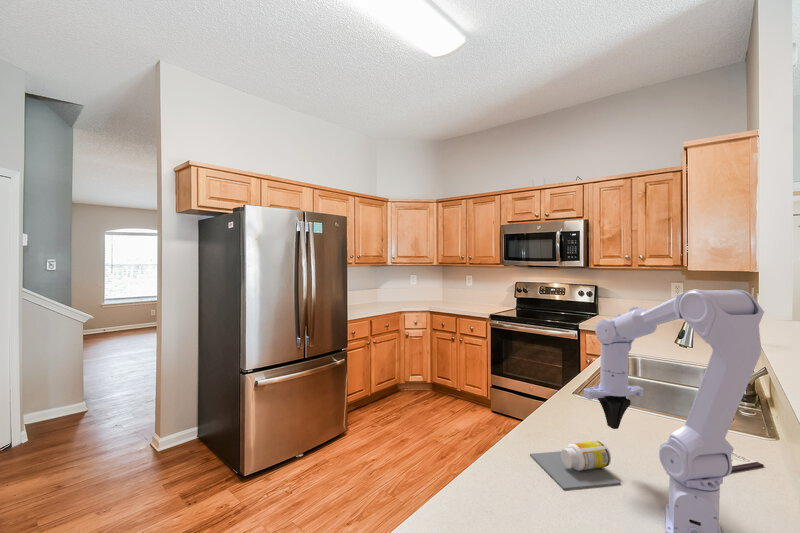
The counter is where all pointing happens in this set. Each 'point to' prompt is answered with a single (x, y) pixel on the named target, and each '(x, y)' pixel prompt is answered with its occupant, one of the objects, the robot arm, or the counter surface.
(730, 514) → the counter surface
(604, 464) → the supplement bottle
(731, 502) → the counter surface
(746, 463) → the chocolate bar
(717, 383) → the robot arm
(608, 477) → the mat
